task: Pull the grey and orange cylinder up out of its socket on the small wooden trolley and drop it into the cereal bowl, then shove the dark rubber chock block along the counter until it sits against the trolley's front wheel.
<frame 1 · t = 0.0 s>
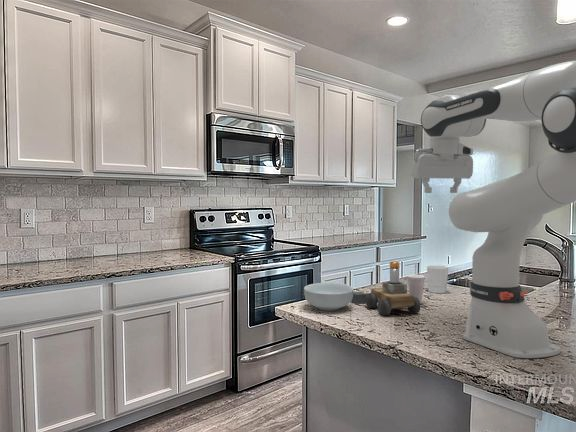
hand: (440, 192, 128), 39 cm above the countertop, tool pointing down, fingers open, 8 cm apart
chock: (359, 302, 144), on the countertop
white cup: (437, 292, 160), on the countertop
cereal bowl: (328, 308, 138), on the countertop
smoothie: (415, 303, 143), on the countertop
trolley: (391, 310, 134), on the countertop
grey and orange cylinder: (394, 292, 134), point 6 cm above the countertop, touching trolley
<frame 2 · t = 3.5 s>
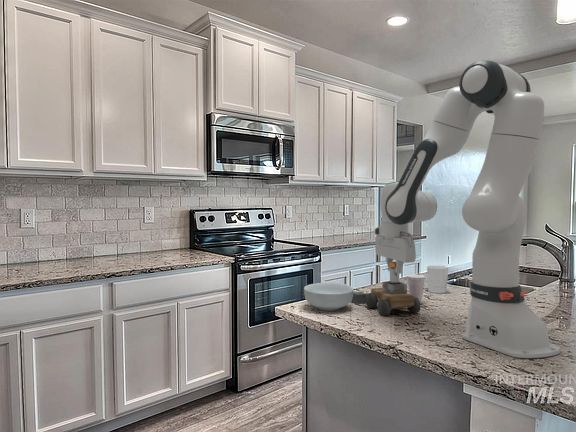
hand: (394, 272, 134), 13 cm above the countertop, tool pointing down, fingers closed on grey and orange cylinder, 3 cm apart
grey and orange cylinder: (394, 292, 134), point 6 cm above the countertop, touching gripper, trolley
everything else where it was.
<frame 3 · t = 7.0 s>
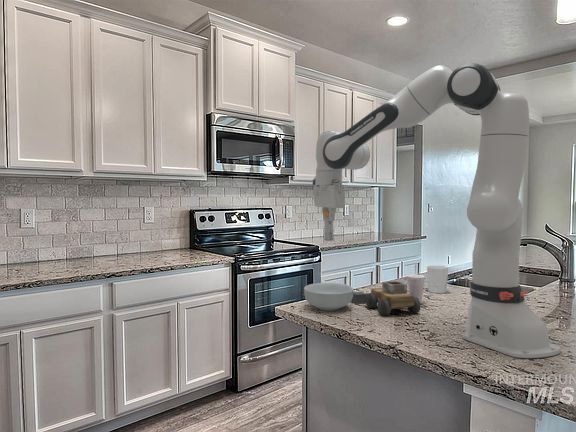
hand: (328, 221, 137), 30 cm above the countertop, tool pointing down, fingers closed on grey and orange cylinder, 3 cm apart
grey and orange cylinder: (328, 240, 137), point 23 cm above the countertop, touching gripper
everything else where it was.
when the fingers open (13 cm above the countertop, at t = 10.4 s): grey and orange cylinder stays where it is, resting on cereal bowl.
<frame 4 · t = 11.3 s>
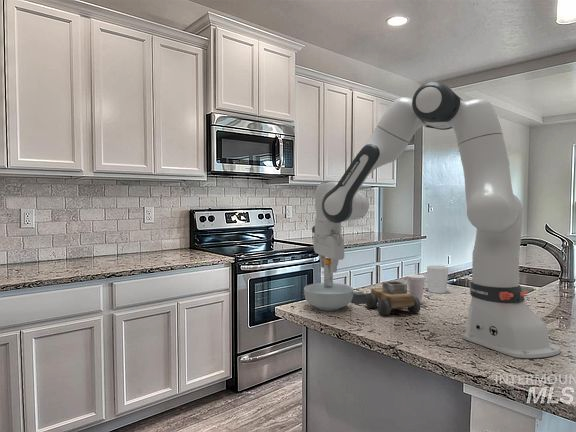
hand: (328, 269, 137), 13 cm above the countertop, tool pointing down, fingers open, 8 cm apart
cereal bowl: (328, 308, 138), on the countertop, touching grey and orange cylinder
grey and orange cylinder: (328, 287, 137), point 7 cm above the countertop, touching cereal bowl
everything else where it was.
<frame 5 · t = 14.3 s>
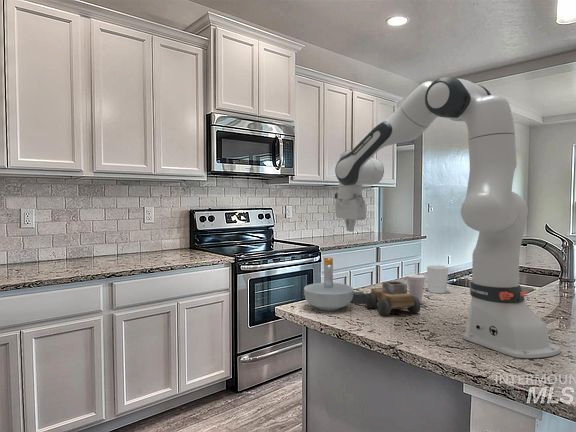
hand: (350, 231, 151), 25 cm above the countertop, tool pointing down, fingers closed
nothing on the countertop moved.
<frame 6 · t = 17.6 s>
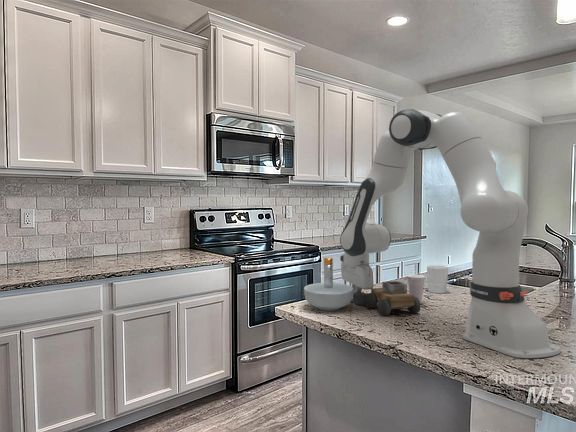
hand: (356, 296, 146), 1 cm above the countertop, tool pointing down, fingers closed
chock: (360, 303, 143), on the countertop, touching gripper
everything else where it was.
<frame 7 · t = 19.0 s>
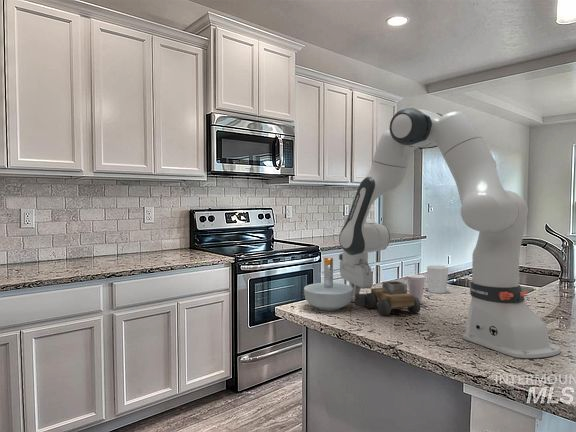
hand: (355, 295, 146), 2 cm above the countertop, tool pointing down, fingers closed
chock: (362, 305, 141), on the countertop
everything else where it was.
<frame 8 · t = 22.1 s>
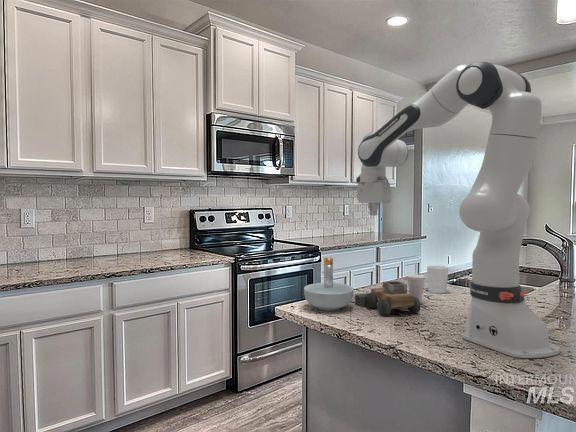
hand: (373, 215, 147), 31 cm above the countertop, tool pointing down, fingers closed
nothing on the countertop moved.
at the end: grey and orange cylinder 0.0 cm from the cereal bowl (horizontally); grey and orange cylinder point 7.0 cm above the countertop; chock 0.6 cm from the target spot, on the countertop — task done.
